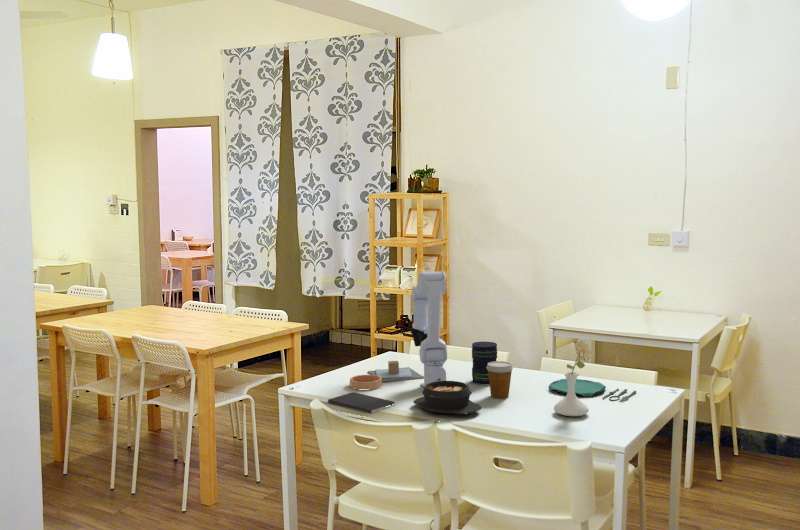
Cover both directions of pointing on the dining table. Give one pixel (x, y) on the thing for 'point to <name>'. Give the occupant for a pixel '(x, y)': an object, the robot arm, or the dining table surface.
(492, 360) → the storage jar
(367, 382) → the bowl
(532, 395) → the dining table surface
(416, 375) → the mat
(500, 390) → the disposable coffee cup
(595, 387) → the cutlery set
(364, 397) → the notebook
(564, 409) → the flower in vase
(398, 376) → the cover
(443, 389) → the casserole
